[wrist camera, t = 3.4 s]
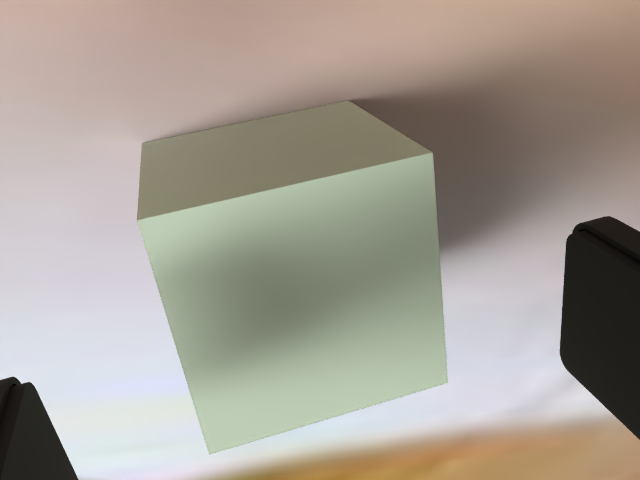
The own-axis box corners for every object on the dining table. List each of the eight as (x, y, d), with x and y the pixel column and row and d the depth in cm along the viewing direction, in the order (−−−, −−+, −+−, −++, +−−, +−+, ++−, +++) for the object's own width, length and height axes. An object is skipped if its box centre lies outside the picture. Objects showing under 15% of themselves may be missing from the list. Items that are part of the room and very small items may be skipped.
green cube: (347, 99, 17) (432, 152, 12) (369, 275, 20) (447, 382, 15) (141, 142, 16) (136, 220, 11) (193, 322, 19) (208, 454, 14)
